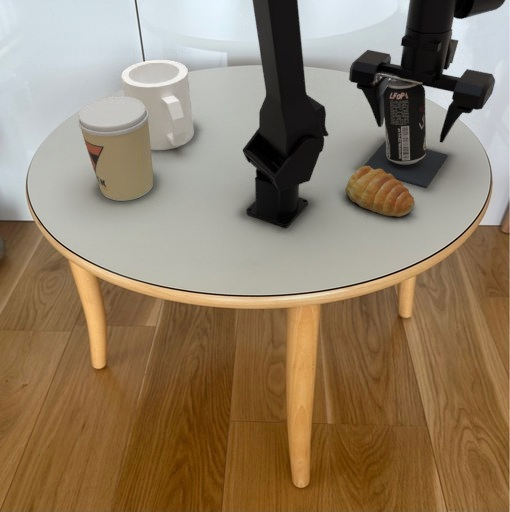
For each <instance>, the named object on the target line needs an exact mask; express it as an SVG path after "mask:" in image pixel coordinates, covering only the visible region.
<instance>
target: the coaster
mask: <svg viewBox="0 0 510 512" xmlns="http://www.w3.org/2000/svg"><path fill="white" fill-rule="evenodd" d="M448 157H449V154H447V153H443V152H440V151H436V150H432V149H428V148H426V154H425V156H424V157H423V158H422V159H420V160H419V161H418V162H416V163H413V164H408V165H400V164H396V163H394V162H392V161H390V160H389V159H388V158H387V155H386V139H385V140H384V142H383V143H382V144H381V145H380V146H379V147H378V148H377V150H376V151H375V152H374V153H373V154H372V155H371V156H370V158H369V159H368V160H367V161H366V162H365V164H364V165H363V166H370V167H371V168H372V169H374V170H376V169H383V170H384V171H385V172H386V174H392V175H393V176H394V177H395V178H396V180H398V181H401V182H403V183H408V184H411V185H415V186H418V187H421V188H425V189H427V188H428V187H429V185H430V183H431V182H432V180H433V179H434V178H435V176H436V174H437V173H438V172H439V170H440V168H442V166H443V164H444V163H445V161H446V160H447V158H448Z"/></svg>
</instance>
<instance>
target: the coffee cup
mask: <svg viewBox="0 0 510 512" xmlns="http://www.w3.org/2000/svg"><path fill="white" fill-rule="evenodd" d="M148 118H149V113H148V110H147V108H146V107H145V105H144V104H143V103H142V102H141V101H139V100H137V99H135V98H131V97H125V96H123V95H121V96H117V95H116V96H109V97H108V96H107V97H103V98H99V99H95V100H93V101H91V102H89V103H87V104H86V105H84V106H83V107H81V109H80V111H79V112H78V117H77V124H78V127H79V128H80V130H81V134H82V137H83V140H84V144H85V146H86V150H87V153H88V156H89V159H90V162H91V165H92V168H93V171H94V175H95V178H96V182H97V183H98V186H99V189H100V192H101V194H102V195H103V196H104V197H106V198H107V199H109V200H112V201H118V202H127V201H133V200H136V199H137V200H138V199H139V198H142V197H143V196H146V195H147V194H148V193H149V192H150V191H151V190H152V188H153V187H154V171H153V158H152V150H151V145H150V133H149V123H148Z"/></svg>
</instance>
